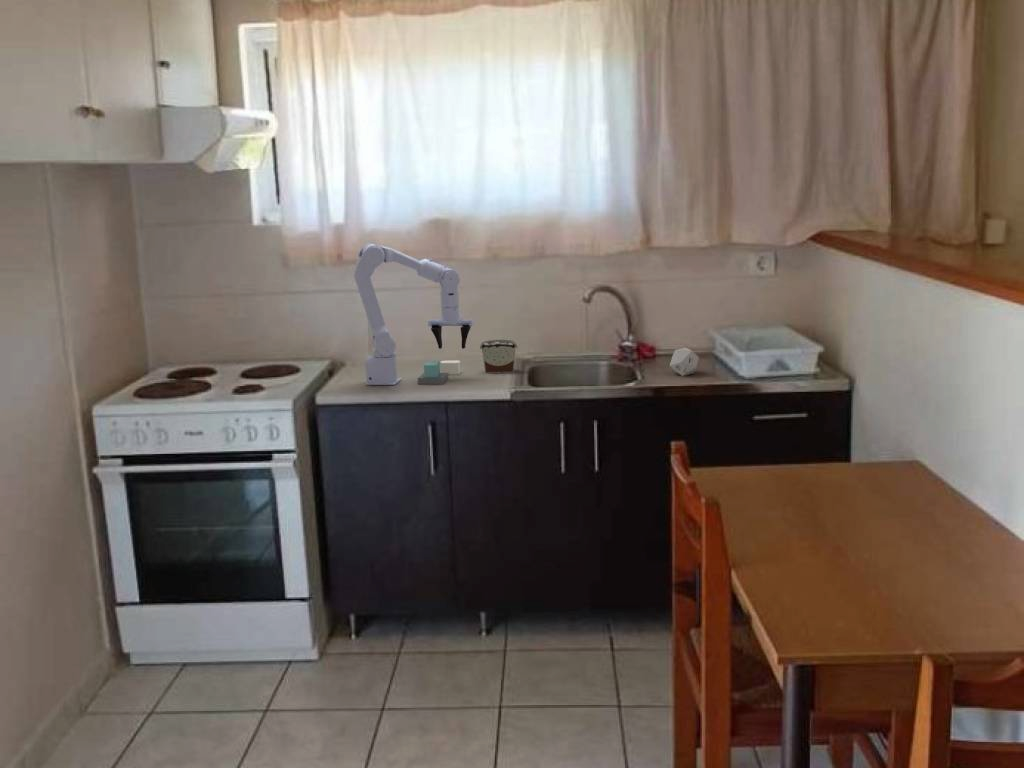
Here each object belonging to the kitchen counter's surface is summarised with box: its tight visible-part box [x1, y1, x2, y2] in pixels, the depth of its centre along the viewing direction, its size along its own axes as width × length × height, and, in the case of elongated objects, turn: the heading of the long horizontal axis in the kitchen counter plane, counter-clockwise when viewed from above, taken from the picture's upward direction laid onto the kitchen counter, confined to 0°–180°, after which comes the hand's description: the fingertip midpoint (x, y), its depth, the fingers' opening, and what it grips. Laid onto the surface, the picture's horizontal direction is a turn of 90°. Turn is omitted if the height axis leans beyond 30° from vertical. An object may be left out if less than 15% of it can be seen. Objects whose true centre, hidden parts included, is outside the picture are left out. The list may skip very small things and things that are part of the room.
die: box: [669, 347, 700, 377], centre depth 323 cm, size 8×9×10 cm
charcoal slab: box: [417, 372, 449, 385], centre depth 325 cm, size 8×8×2 cm
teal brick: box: [423, 360, 441, 378], centre depth 324 cm, size 4×6×4 cm, turn 174°
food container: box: [479, 339, 518, 374], centre depth 336 cm, size 12×6×10 cm, turn 84°
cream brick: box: [440, 359, 462, 376], centre depth 335 cm, size 6×4×4 cm, turn 83°
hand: (452, 348), depth 329 cm, fingers open, 7 cm apart
